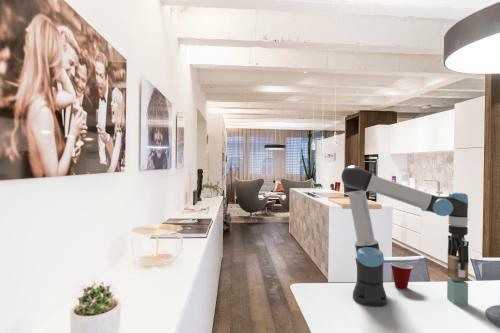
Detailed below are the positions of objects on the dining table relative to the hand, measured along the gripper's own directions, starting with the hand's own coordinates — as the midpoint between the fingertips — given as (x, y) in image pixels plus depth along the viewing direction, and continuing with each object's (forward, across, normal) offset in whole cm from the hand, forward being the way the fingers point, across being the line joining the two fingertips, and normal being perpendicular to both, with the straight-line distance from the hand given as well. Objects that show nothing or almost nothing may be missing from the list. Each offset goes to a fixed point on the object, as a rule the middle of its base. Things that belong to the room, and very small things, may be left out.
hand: (457, 274), depth 143 cm
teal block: (+13, 0, 0) cm, 13 cm away
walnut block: (+2, 0, 0) cm, 2 cm away
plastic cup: (+13, +15, +20) cm, 28 cm away
